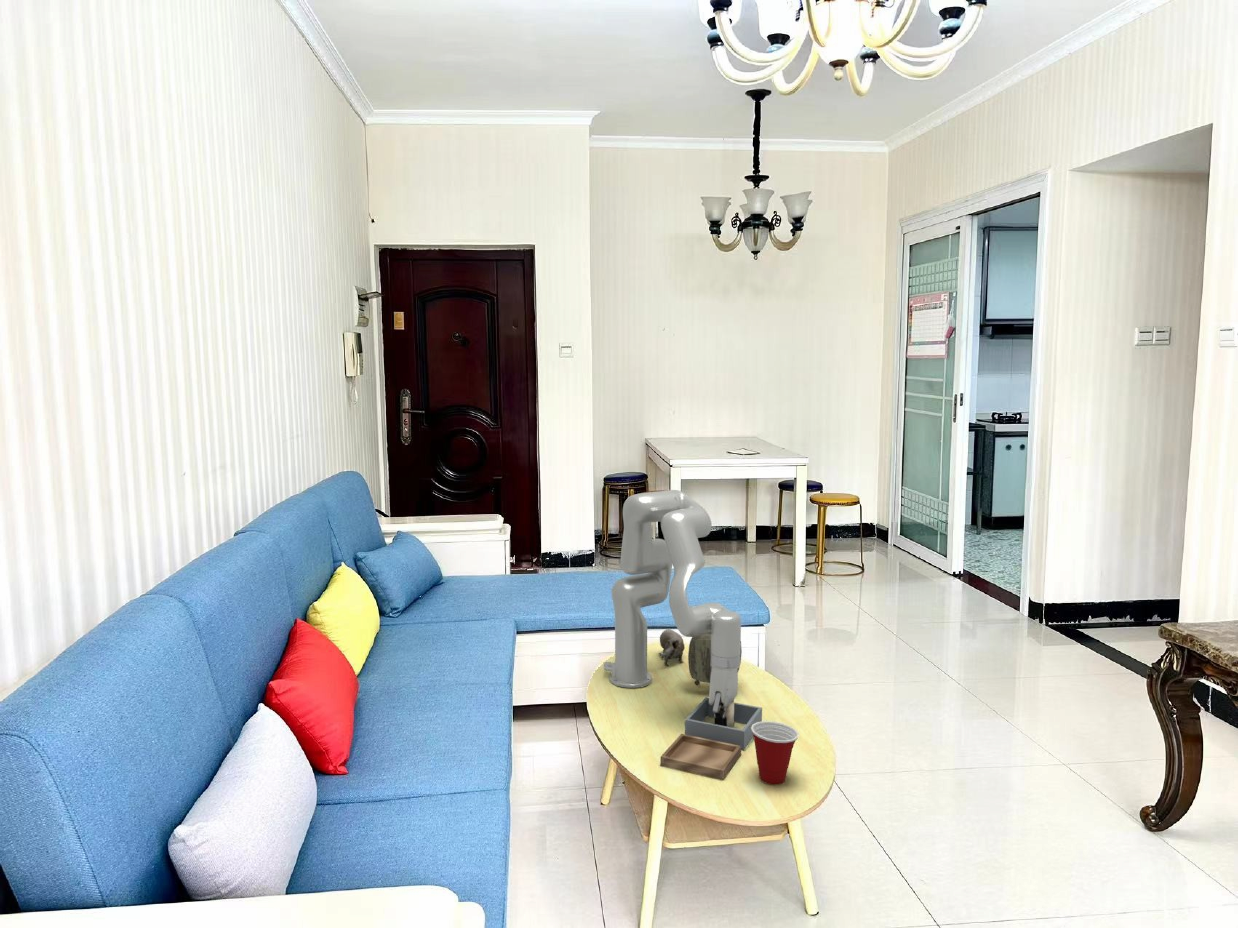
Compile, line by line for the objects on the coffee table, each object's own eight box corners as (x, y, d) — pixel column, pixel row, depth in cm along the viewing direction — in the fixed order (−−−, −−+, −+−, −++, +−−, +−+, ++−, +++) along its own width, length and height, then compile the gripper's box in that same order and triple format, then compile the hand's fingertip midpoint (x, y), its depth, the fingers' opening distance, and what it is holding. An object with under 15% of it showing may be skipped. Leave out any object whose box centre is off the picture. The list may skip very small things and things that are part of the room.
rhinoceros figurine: (684, 642, 280) (682, 615, 270) (687, 678, 270) (684, 651, 260) (660, 644, 280) (657, 616, 270) (662, 680, 271) (659, 653, 260)
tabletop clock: (740, 687, 249) (742, 604, 246) (737, 700, 241) (739, 614, 237) (691, 682, 253) (692, 601, 249) (686, 694, 244) (687, 610, 241)
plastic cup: (806, 786, 193) (807, 736, 192) (762, 793, 190) (763, 742, 188) (783, 764, 203) (785, 716, 202) (742, 770, 200) (743, 722, 199)
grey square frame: (684, 738, 217) (684, 719, 216) (705, 714, 231) (705, 697, 230) (744, 750, 210) (744, 731, 210) (761, 725, 224) (762, 707, 224)
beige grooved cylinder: (711, 733, 219) (711, 704, 218) (717, 726, 224) (718, 697, 223) (730, 737, 217) (730, 707, 216) (736, 729, 222) (736, 700, 221)
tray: (660, 765, 203) (660, 756, 202) (681, 742, 215) (681, 733, 214) (723, 780, 196) (723, 770, 196) (741, 754, 208) (741, 746, 208)
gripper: (721, 646, 227) (720, 712, 230) (699, 668, 212) (698, 737, 214) (749, 651, 224) (747, 717, 226) (728, 673, 209) (727, 743, 211)
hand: (723, 726), depth 220 cm, fingers closed on beige grooved cylinder, 5 cm apart
